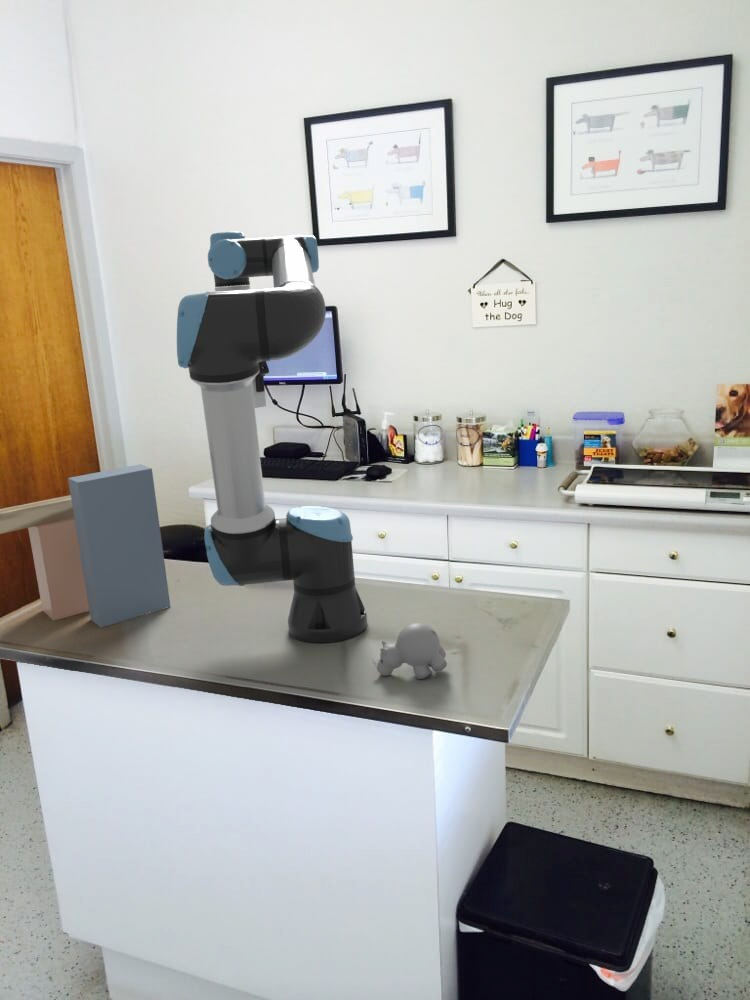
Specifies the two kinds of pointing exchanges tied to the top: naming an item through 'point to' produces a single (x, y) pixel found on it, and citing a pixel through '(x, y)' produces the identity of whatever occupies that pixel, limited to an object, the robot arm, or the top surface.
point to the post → (119, 543)
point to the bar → (36, 514)
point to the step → (59, 569)
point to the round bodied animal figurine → (413, 652)
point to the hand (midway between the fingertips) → (245, 404)
